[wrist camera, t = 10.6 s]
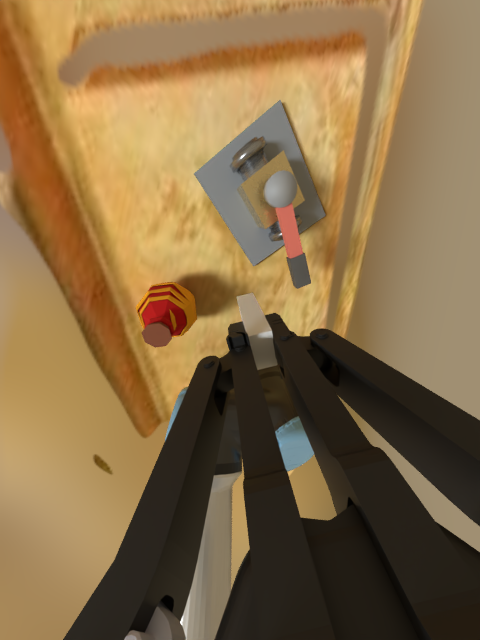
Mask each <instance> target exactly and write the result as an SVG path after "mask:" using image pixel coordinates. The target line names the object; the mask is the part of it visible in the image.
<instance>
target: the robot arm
mask: <svg viewBox="0 0 480 640" xmlns="http://www.w3.org/2000/svg"><path fill="white" fill-rule="evenodd" d="M237 301H238V306H239V310H240V314H241V318H242V322H238V323H234V324H230V326H229V328H228V332H229V335H228V336H227V338H226V340H227V344H228V347H229V350H230V351H229V352H228V354H226V355H225V356H223V357H222V358H220V359H219V358H218V357H216V356H208V357H205V358H203V359H202V360H201V361H200V362H199V363H198V365H197V368H196V370H195V372H194V375H193V377H192V379H191V382H190V384H189V386H188V387H186V388H184V389H183V390H182V391H181V392H180V394H179V395H178V398H177V400H176V403H175V406H174V409H173V412H172V416H171V419H170V422H169V426H168V430H167V434H166V438H165V443H164V445H163V448H162V450H161V452H160V454H159V457H158V459H157V461H156V464H155V466H154V469H153V471H152V474H151V476H150V478H149V480H148V483H147V485H146V487H145V490H144V492H143V494H142V497H141V499H140V501H139V504H138V506H137V509H136V511H135V513H134V515H133V518H132V520H131V523H130V525H129V527H128V530H127V532H126V534H125V537H124V539H123V541H122V544H121V546H120V548H119V551H118V553H117V555H116V558H115V560H114V562H113V563H112V565H111V566H110V568H109V569H108V571H107V572H106V574H105V576H104V577H103V579H102V580H101V582H100V583H99V585H98V587H97V588H96V590H95V591H94V593H93V594H92V596H91V597H90V599H89V600H88V602H87V603H86V605H85V607H84V608H83V610H82V611H81V613H80V614H79V616H78V617H77V619H76V620H75V622H74V624H73V625H72V627H71V628H70V630H69V631H68V633H67V634H66V636H65V638H64V639H63V640H480V552H478V551H477V550H476V549H474V548H473V547H471V546H470V545H468V544H467V543H466V542H464V541H463V540H461V539H460V538H458V537H457V536H456V535H454V534H453V533H451V532H450V531H448V530H447V529H446V528H444V527H443V526H441V525H440V524H438V523H437V522H435V521H434V519H433V518H432V517H431V515H430V514H429V512H428V511H427V510H426V508H425V507H424V506H423V504H422V503H421V501H420V500H419V498H418V497H417V496H416V494H415V493H414V492H413V490H412V489H411V487H410V486H409V485H408V483H407V482H406V481H405V479H404V478H403V476H402V475H401V473H400V472H399V471H398V469H397V468H396V466H395V465H394V464H393V462H392V461H391V460H390V458H389V457H388V456H387V455H386V453H385V452H384V451H383V450H381V449H380V448H378V447H374V446H372V445H371V444H370V443H369V441H368V440H367V438H366V437H365V435H364V434H363V432H362V431H361V430H360V428H359V427H358V425H357V424H356V422H355V421H354V419H353V418H352V416H351V415H350V413H349V412H348V410H347V409H346V407H345V406H344V405H343V403H342V402H341V400H340V399H339V397H340V398H342V399H343V400H344V401H345V402H346V403H347V404H348V405H349V406H350V407H351V408H352V409H353V410H354V411H355V412H356V413H358V414H359V415H360V416H361V417H362V418H363V419H364V420H365V421H366V422H367V423H368V424H369V425H370V426H371V427H372V428H373V429H375V431H377V432H378V433H379V434H380V435H381V436H382V437H383V438H384V439H385V440H386V441H387V442H388V443H389V444H390V445H391V446H392V447H393V448H395V449H396V450H397V451H398V452H399V453H400V454H401V455H402V456H403V457H404V458H405V459H406V460H407V461H408V462H409V463H410V464H412V465H413V466H414V467H415V468H416V469H417V470H418V471H419V472H420V473H421V474H422V475H423V476H424V477H425V478H427V480H429V481H430V482H431V483H432V484H433V485H434V486H435V487H436V488H437V489H438V490H439V491H440V492H441V493H442V494H443V495H445V496H446V497H447V498H448V499H449V500H450V501H451V502H452V503H453V504H454V505H456V506H457V507H458V508H459V509H460V510H461V511H462V512H463V513H464V514H466V515H467V516H468V517H469V518H470V519H472V520H473V521H474V522H475V523H477V524H478V525H479V526H480V420H478V419H477V418H475V417H473V416H472V415H470V414H468V413H467V412H465V411H463V410H462V409H460V408H458V407H457V406H455V405H453V404H452V403H450V402H448V401H447V400H445V399H443V398H442V397H440V396H438V395H437V394H435V393H433V392H432V391H430V390H428V389H427V388H425V387H424V386H422V385H420V384H419V383H417V382H415V381H413V380H412V379H410V378H408V377H407V376H405V375H404V374H402V373H400V372H399V371H397V370H395V369H394V368H392V367H390V366H388V365H387V364H385V363H384V362H382V361H380V360H379V359H377V358H375V357H374V356H372V355H370V354H369V353H367V352H365V351H364V350H362V349H360V348H359V347H357V346H356V345H354V344H352V343H350V342H349V341H347V340H346V339H344V338H342V337H341V336H339V335H337V334H336V333H334V332H332V331H330V330H328V329H316V330H313V331H312V332H311V333H310V336H305V337H301V336H297V335H296V334H295V333H294V332H292V331H289V329H288V328H287V326H286V324H285V323H284V321H283V320H282V318H281V317H280V315H278V314H276V313H273V314H269V315H265V316H264V314H263V312H262V310H261V308H260V306H259V304H258V302H257V300H256V298H255V296H254V294H253V293H249V294H245V295H241V296H237ZM337 395H338V396H339V397H338V396H337ZM314 454H315V457H316V459H317V461H318V464H319V466H320V469H321V471H322V473H323V476H324V478H325V480H326V483H327V485H328V488H329V490H330V493H331V496H332V500H333V504H334V507H335V510H336V513H337V516H336V517H334V518H333V519H331V520H328V521H327V520H317V519H308V518H300V515H299V511H298V507H297V504H296V500H295V497H294V494H293V490H292V487H291V483H290V480H289V476H288V473H287V471H290V470H293V469H295V468H297V467H299V466H301V465H302V464H304V463H305V462H307V461H308V460H309V459H310V458H311V457H312V456H313V455H314ZM242 459H243V467H244V481H243V489H244V500H245V509H246V517H247V527H248V536H249V545H250V550H249V551H248V553H247V554H246V556H245V558H244V560H243V562H242V564H241V566H240V568H239V570H238V573H237V575H236V578H235V581H234V584H233V587H232V590H231V543H232V486H233V484H234V482H235V481H236V480H237V478H238V477H239V476H240V475H241V473H242Z"/></svg>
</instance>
